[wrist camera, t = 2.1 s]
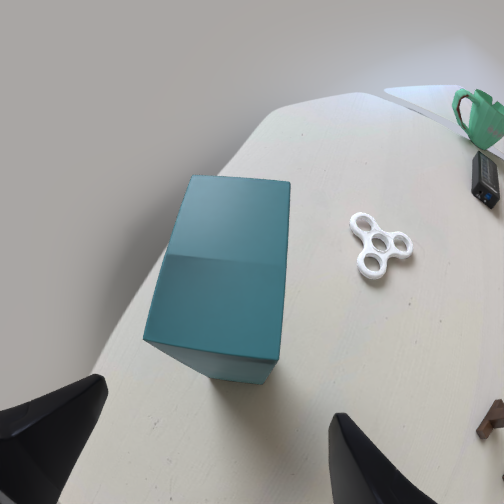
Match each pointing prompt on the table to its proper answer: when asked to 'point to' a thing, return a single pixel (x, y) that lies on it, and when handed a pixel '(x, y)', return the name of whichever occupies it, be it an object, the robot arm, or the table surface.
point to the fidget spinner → (372, 251)
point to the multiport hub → (485, 180)
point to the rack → (492, 420)
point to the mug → (481, 118)
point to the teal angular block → (224, 279)
